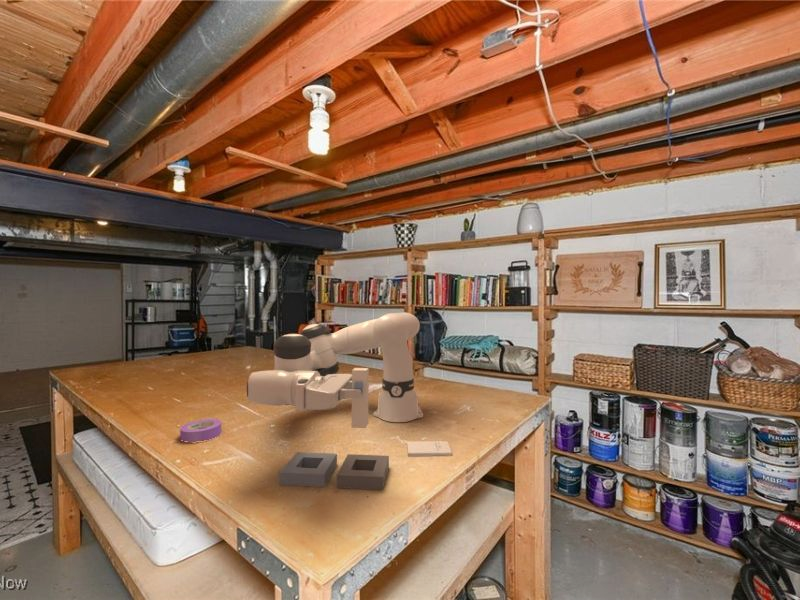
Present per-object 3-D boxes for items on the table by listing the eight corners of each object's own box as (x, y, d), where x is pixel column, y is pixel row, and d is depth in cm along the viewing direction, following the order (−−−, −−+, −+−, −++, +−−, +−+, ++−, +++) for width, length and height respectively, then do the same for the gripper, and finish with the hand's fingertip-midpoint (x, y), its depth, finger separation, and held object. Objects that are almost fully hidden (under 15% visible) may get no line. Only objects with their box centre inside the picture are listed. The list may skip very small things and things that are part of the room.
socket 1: (297, 463, 95) (297, 452, 95) (336, 464, 94) (336, 453, 94) (279, 484, 84) (279, 472, 84) (324, 487, 83) (324, 474, 83)
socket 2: (347, 465, 93) (347, 454, 93) (388, 467, 92) (388, 455, 92) (336, 487, 82) (336, 475, 82) (382, 490, 81) (382, 477, 81)
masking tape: (177, 446, 106) (177, 433, 106) (183, 432, 117) (183, 421, 117) (220, 440, 111) (220, 428, 111) (222, 427, 121) (222, 416, 121)
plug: (354, 423, 89) (355, 367, 90) (368, 423, 89) (368, 368, 89) (350, 428, 85) (351, 370, 85) (364, 429, 84) (365, 371, 85)
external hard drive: (406, 446, 107) (447, 445, 107) (408, 458, 99) (451, 457, 99) (406, 440, 107) (447, 440, 107) (408, 452, 99) (451, 452, 99)
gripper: (322, 390, 99) (370, 391, 97) (293, 414, 78) (354, 416, 77) (322, 367, 99) (370, 368, 97) (293, 386, 78) (354, 387, 77)
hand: (363, 389), depth 87 cm, fingers closed on plug, 4 cm apart
